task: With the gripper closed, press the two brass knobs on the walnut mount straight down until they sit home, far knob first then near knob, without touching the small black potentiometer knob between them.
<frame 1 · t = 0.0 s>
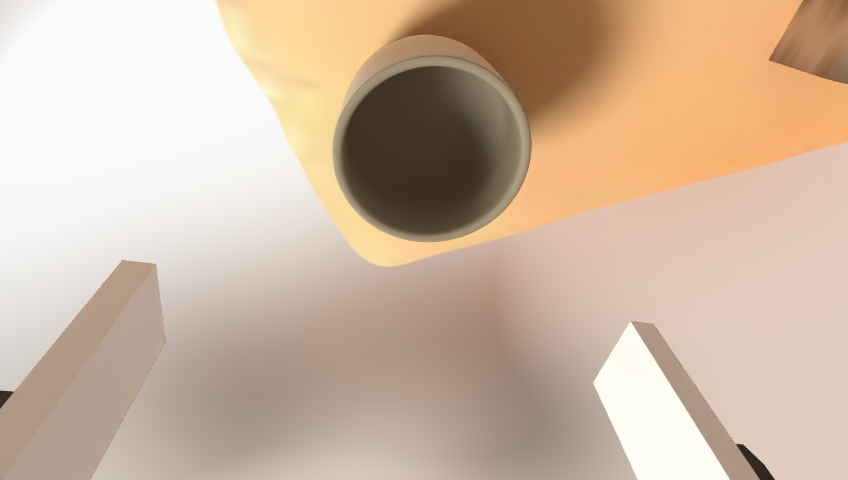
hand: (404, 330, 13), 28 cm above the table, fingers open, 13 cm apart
planter: (422, 105, 38), on the table
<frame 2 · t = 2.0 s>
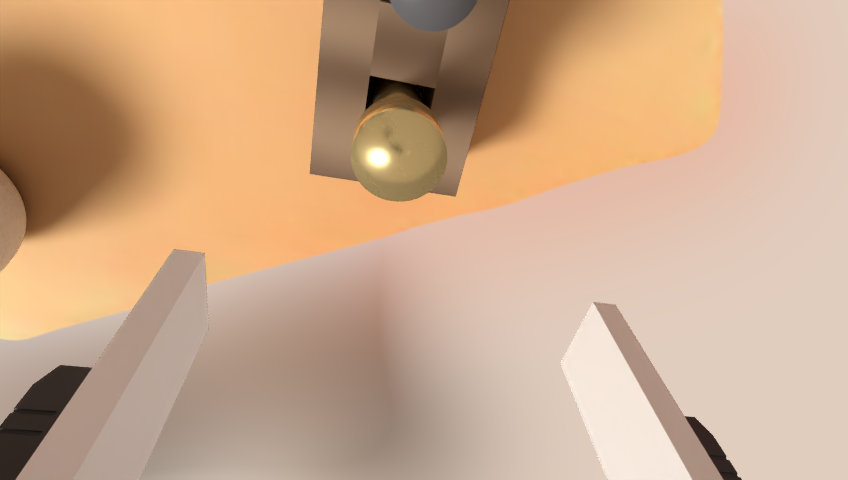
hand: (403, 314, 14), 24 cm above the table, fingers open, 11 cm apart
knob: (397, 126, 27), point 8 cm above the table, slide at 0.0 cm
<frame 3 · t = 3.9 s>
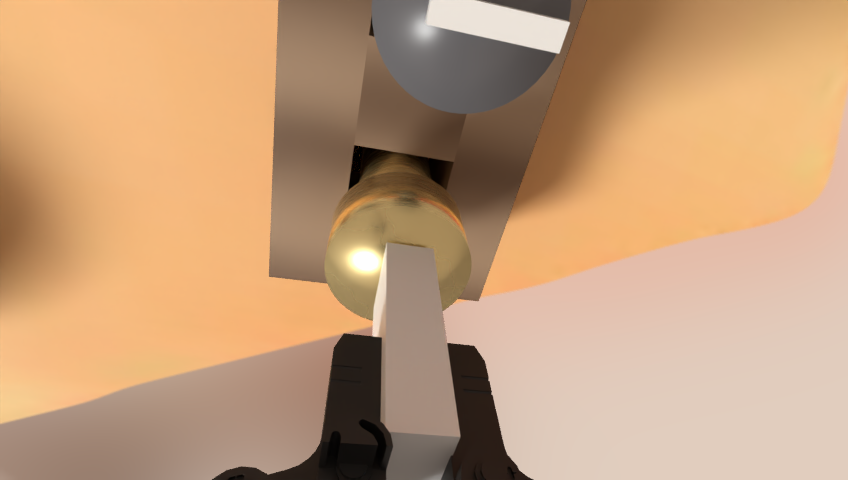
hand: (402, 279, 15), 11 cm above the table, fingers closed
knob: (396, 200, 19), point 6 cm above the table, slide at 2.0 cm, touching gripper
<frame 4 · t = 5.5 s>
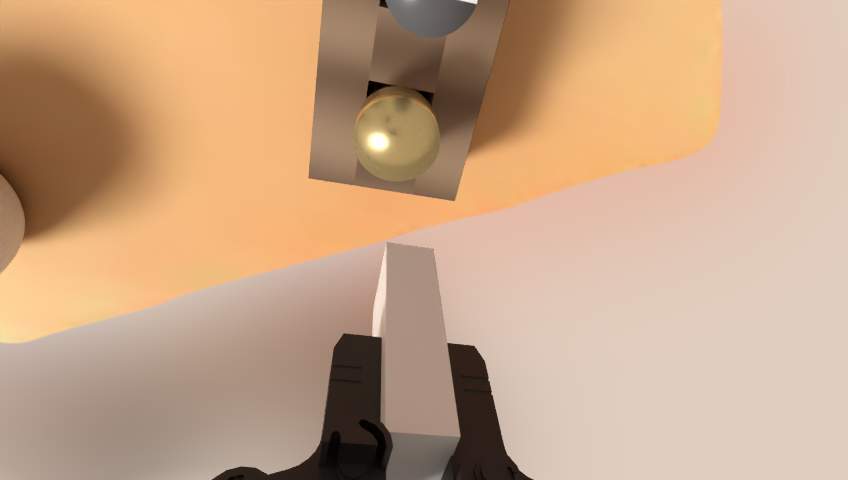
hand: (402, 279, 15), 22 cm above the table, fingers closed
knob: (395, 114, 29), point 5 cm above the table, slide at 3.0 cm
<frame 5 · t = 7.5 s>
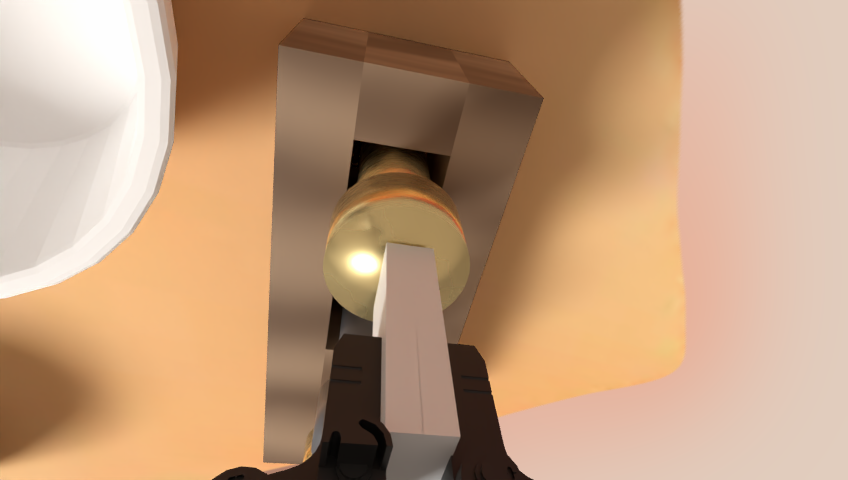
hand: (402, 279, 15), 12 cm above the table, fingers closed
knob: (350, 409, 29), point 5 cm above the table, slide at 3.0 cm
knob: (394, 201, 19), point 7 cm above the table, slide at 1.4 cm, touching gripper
mount: (370, 258, 29), on the table
pot knob: (366, 361, 22), point 8 cm above the table, slide at 0.0 cm
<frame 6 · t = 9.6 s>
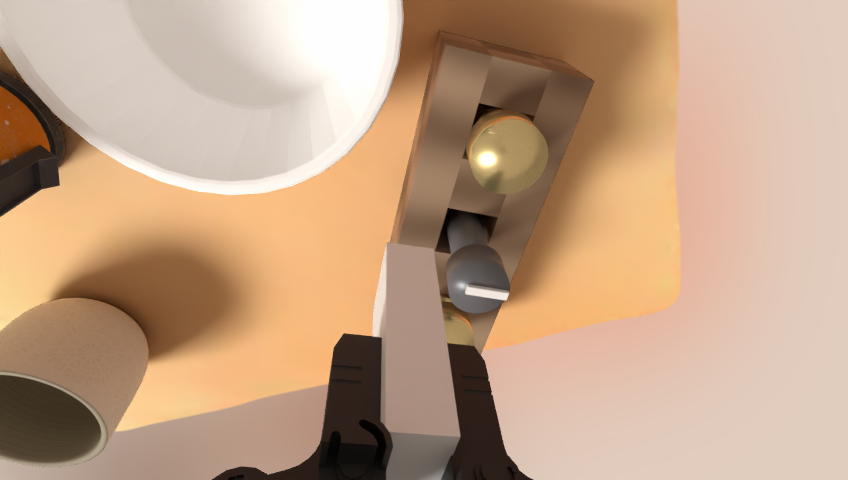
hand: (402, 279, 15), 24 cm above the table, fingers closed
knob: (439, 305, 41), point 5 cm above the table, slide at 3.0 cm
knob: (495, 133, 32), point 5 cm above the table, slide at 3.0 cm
planter: (99, 329, 47), on the table
mount: (457, 199, 41), on the table
pot knob: (470, 251, 34), point 8 cm above the table, slide at 0.0 cm
canister: (22, 126, 36), on the table
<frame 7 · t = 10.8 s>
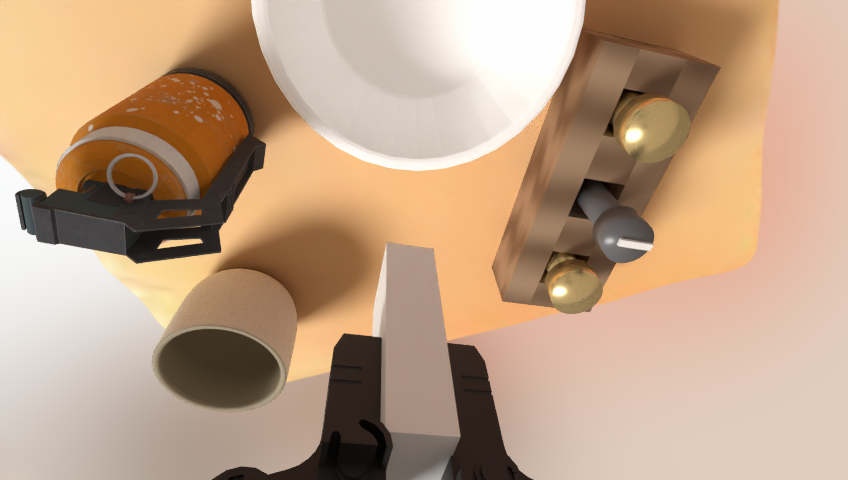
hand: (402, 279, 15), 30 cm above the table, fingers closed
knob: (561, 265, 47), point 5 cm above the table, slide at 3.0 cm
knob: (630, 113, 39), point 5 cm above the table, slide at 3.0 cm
planter: (249, 297, 54), on the table
mount: (574, 173, 47), on the table
bowl: (415, 3, 38), on the table
pot knob: (606, 213, 40), point 8 cm above the table, slide at 0.0 cm
canister: (217, 120, 42), on the table
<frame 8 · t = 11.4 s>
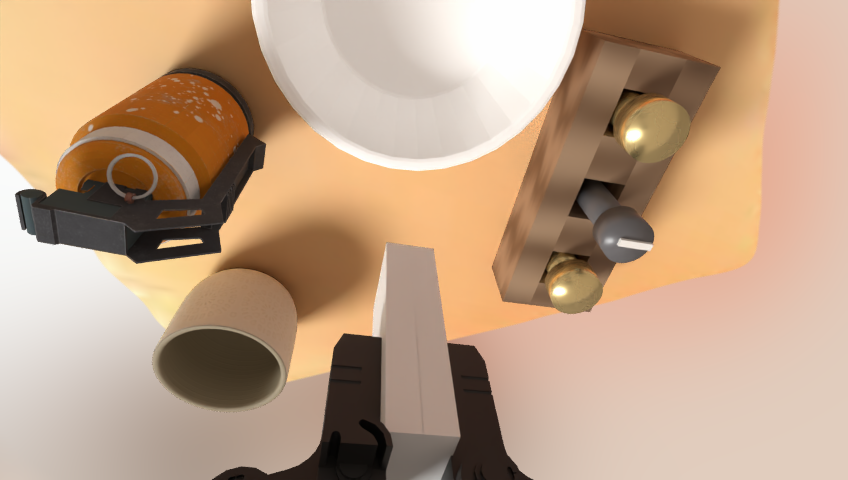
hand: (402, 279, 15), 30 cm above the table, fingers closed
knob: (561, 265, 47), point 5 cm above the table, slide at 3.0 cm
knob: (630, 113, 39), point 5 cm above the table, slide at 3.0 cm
planter: (249, 297, 54), on the table
mount: (574, 173, 47), on the table
bowl: (415, 3, 38), on the table
pot knob: (606, 213, 40), point 8 cm above the table, slide at 0.0 cm
canister: (217, 119, 42), on the table
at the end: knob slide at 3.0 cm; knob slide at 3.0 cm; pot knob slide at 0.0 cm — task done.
